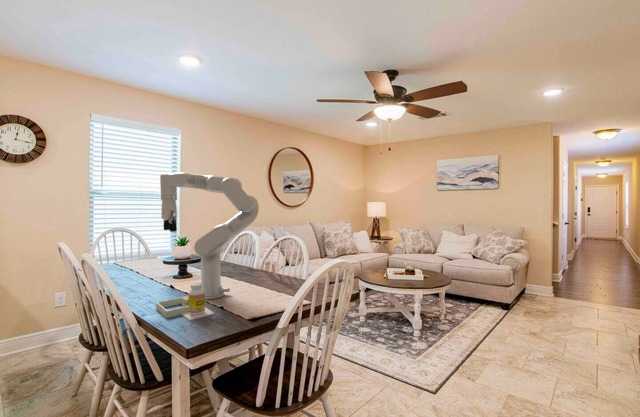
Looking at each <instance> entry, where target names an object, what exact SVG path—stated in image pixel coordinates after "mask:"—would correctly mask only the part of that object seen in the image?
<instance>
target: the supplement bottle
mask: <svg viewBox="0 0 640 417" xmlns="http://www.w3.org/2000/svg"><path fill="white" fill-rule="evenodd" d="M190 288H191V289H190V290H189V291H188V296H189V313H190V314H191V315H199V314H202V313H204V312H205V308H206V299H205V291H204V289H202V283H201V282H193V283H191V284H190Z"/></svg>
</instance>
